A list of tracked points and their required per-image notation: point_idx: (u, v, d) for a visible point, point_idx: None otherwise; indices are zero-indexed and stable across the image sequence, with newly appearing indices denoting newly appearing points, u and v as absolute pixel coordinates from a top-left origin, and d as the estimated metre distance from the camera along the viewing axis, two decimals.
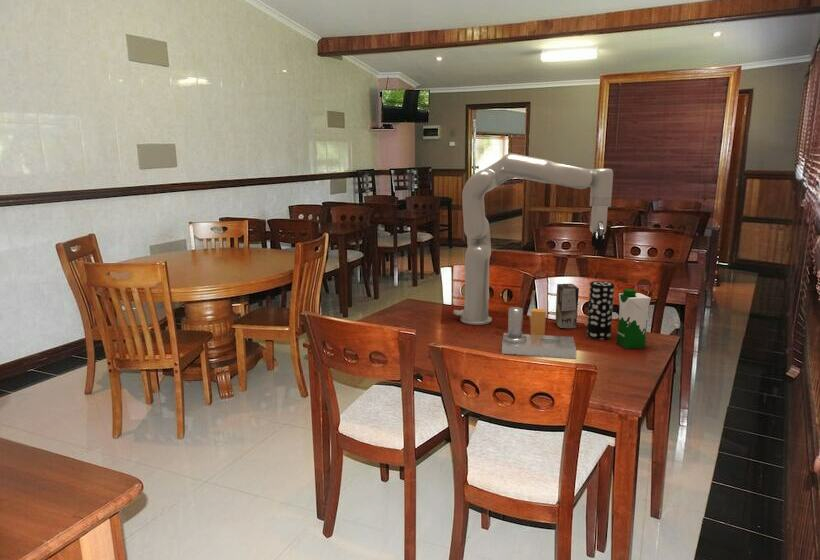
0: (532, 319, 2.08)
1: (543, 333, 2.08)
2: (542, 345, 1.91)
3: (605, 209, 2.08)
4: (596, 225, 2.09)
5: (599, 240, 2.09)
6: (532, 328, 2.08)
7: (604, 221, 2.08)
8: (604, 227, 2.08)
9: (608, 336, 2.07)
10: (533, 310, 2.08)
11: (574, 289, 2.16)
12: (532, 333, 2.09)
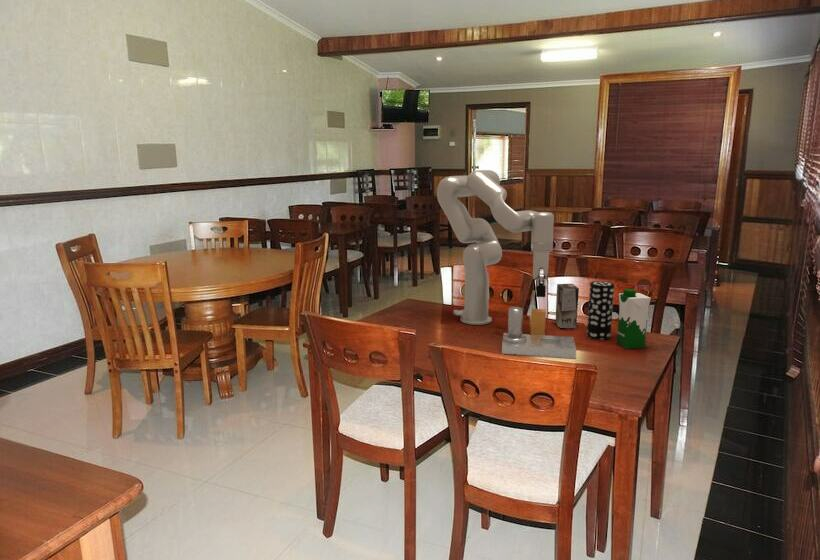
0: (532, 319, 2.08)
1: (543, 333, 2.08)
2: (542, 345, 1.91)
3: (546, 255, 2.00)
4: (537, 271, 2.00)
5: (540, 287, 2.01)
6: (532, 328, 2.08)
7: (545, 267, 2.00)
8: (545, 273, 2.00)
9: (608, 336, 2.07)
10: (533, 310, 2.08)
11: (574, 289, 2.16)
12: (532, 333, 2.09)
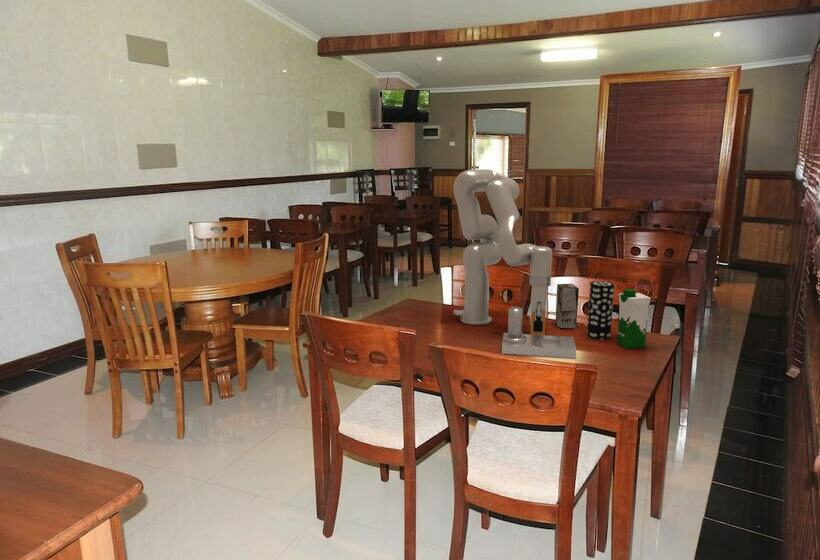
0: (532, 319, 2.08)
1: (543, 333, 2.08)
2: (542, 345, 1.91)
3: (544, 289, 2.02)
4: (535, 305, 2.03)
5: (537, 322, 2.06)
6: (532, 328, 2.08)
7: (543, 301, 2.03)
8: (543, 308, 2.03)
9: (608, 336, 2.07)
10: None
11: (574, 289, 2.16)
12: (532, 333, 2.09)
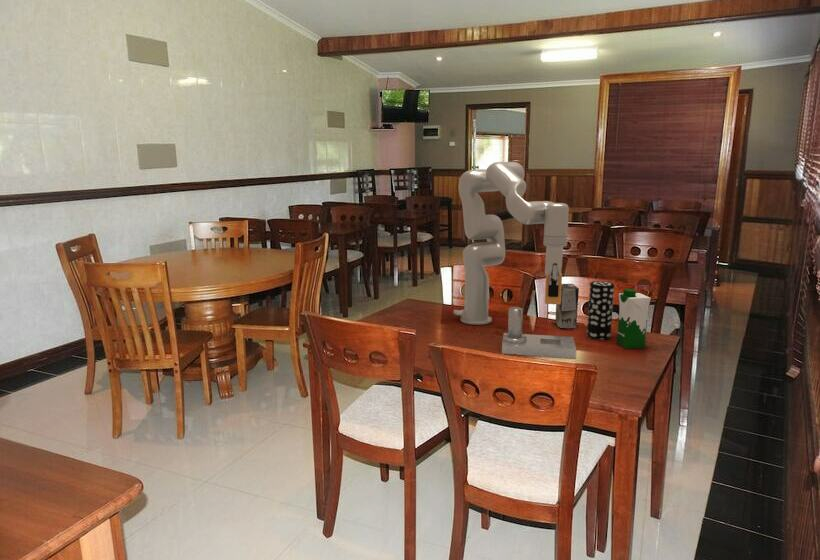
0: (547, 283, 1.89)
1: (559, 298, 1.89)
2: (542, 345, 1.91)
3: (560, 249, 1.84)
4: (550, 267, 1.85)
5: (553, 286, 1.88)
6: (547, 293, 1.90)
7: (558, 263, 1.84)
8: (559, 270, 1.85)
9: (608, 336, 2.07)
10: None
11: (574, 289, 2.16)
12: (547, 299, 1.90)
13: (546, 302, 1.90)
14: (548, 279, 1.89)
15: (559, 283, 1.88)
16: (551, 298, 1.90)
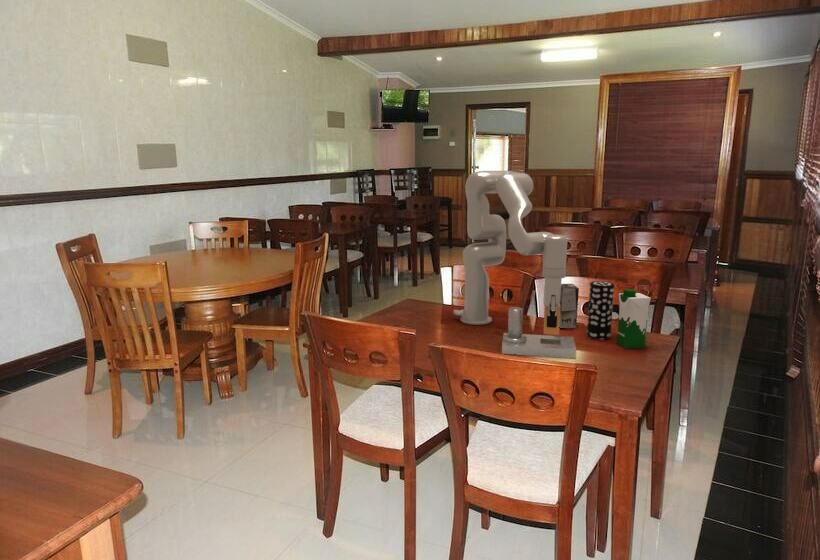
0: (545, 314, 1.91)
1: (557, 329, 1.91)
2: (542, 345, 1.91)
3: (558, 281, 1.86)
4: (548, 299, 1.87)
5: (551, 317, 1.90)
6: (545, 323, 1.92)
7: (557, 294, 1.86)
8: (557, 301, 1.86)
9: (608, 336, 2.07)
10: None
11: (574, 289, 2.16)
12: (545, 329, 1.92)
13: (545, 332, 1.92)
14: (547, 310, 1.91)
15: (557, 314, 1.90)
16: (550, 328, 1.92)
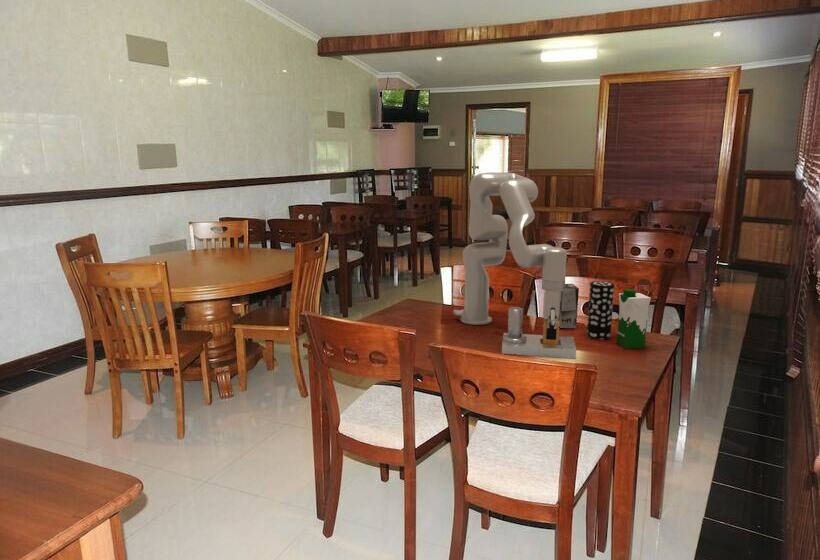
0: (544, 332, 1.92)
1: None
2: (542, 345, 1.91)
3: (557, 294, 1.87)
4: (548, 311, 1.88)
5: (551, 329, 1.89)
6: (544, 341, 1.93)
7: (556, 307, 1.87)
8: (556, 314, 1.87)
9: (608, 336, 2.07)
10: (545, 322, 1.93)
11: (574, 289, 2.16)
12: None
13: None
14: (546, 328, 1.92)
15: (556, 332, 1.92)
16: None
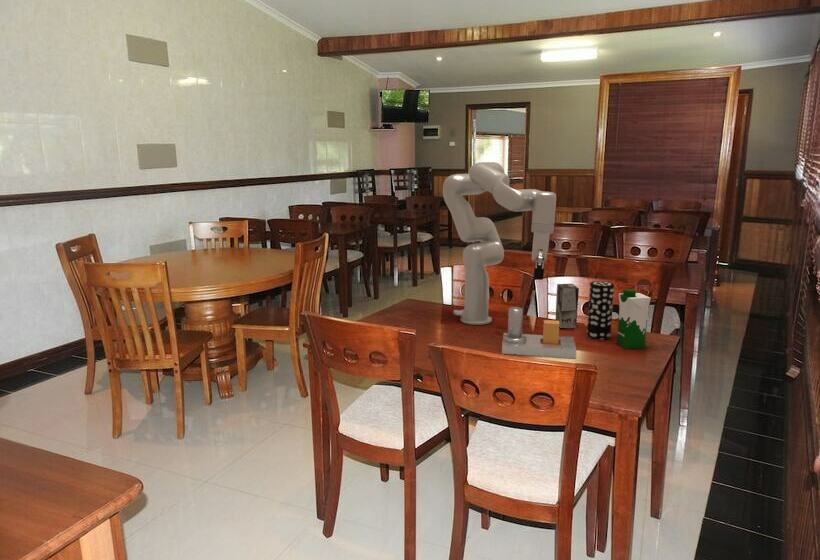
0: (544, 332, 1.92)
1: None
2: (542, 345, 1.91)
3: (546, 236, 1.93)
4: (536, 253, 1.95)
5: (538, 269, 1.95)
6: (544, 341, 1.93)
7: (544, 249, 1.94)
8: (544, 255, 1.94)
9: (608, 336, 2.07)
10: (545, 322, 1.93)
11: (574, 289, 2.16)
12: None
13: None
14: (546, 328, 1.92)
15: (556, 332, 1.92)
16: None
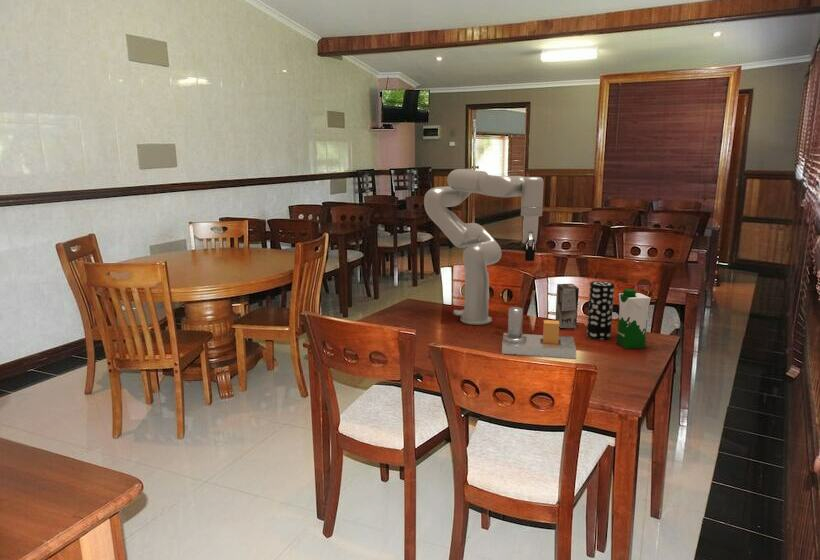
0: (544, 332, 1.92)
1: None
2: (542, 345, 1.91)
3: (535, 219, 2.02)
4: (526, 235, 2.03)
5: (529, 251, 2.03)
6: (544, 341, 1.93)
7: (534, 231, 2.02)
8: (534, 237, 2.02)
9: (608, 336, 2.07)
10: (545, 322, 1.93)
11: (574, 289, 2.16)
12: None
13: None
14: (546, 328, 1.92)
15: (556, 332, 1.92)
16: None
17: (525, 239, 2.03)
